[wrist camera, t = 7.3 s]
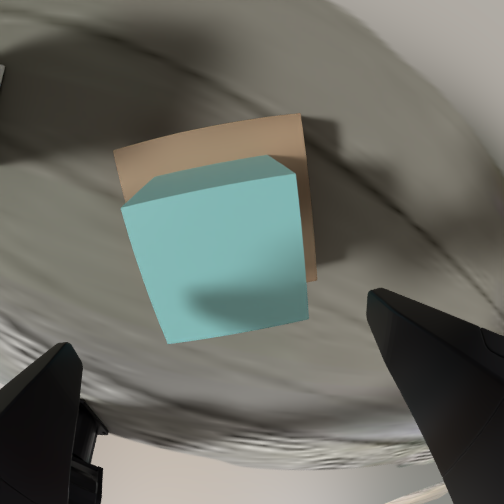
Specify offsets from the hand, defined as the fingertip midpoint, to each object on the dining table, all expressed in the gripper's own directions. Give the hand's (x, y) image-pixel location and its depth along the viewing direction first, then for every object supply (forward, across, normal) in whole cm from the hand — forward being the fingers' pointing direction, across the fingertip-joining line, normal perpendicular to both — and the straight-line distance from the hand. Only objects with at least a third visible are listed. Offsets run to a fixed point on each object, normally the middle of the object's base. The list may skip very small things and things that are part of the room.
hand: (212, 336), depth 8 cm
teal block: (+9, 0, 0) cm, 9 cm away
